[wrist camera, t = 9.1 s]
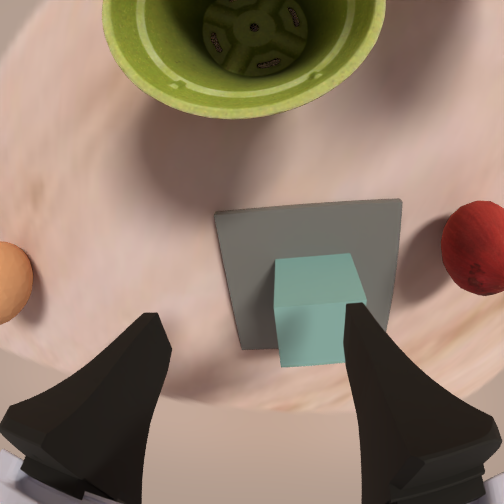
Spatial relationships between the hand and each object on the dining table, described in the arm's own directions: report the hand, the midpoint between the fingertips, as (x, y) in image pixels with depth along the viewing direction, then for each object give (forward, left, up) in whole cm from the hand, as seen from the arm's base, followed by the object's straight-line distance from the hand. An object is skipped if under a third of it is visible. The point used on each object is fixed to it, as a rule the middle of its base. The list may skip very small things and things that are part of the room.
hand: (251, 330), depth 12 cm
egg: (-1, +23, -10) cm, 25 cm away
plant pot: (+12, -1, -10) cm, 16 cm away
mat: (-5, -3, -10) cm, 11 cm away
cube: (-5, -3, -9) cm, 11 cm away
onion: (-1, -14, -10) cm, 17 cm away
